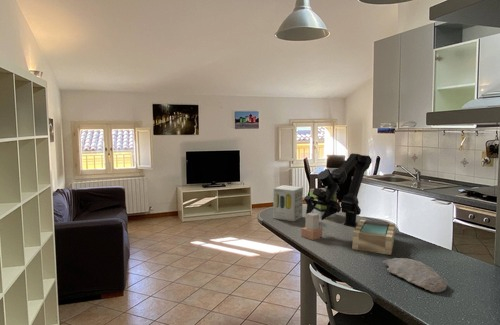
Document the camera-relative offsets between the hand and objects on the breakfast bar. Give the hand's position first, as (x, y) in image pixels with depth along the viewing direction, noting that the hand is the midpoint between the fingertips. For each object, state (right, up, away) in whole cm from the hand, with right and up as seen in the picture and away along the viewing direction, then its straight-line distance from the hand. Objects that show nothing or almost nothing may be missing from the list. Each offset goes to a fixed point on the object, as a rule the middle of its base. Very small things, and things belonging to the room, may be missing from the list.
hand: (313, 217), depth 169 cm
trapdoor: (+26, -5, -10) cm, 28 cm away
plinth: (-1, -9, 0) cm, 9 cm away
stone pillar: (-1, -5, 0) cm, 5 cm away
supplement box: (-9, -6, +36) cm, 37 cm away
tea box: (+12, -5, +43) cm, 45 cm away
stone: (+28, -15, -43) cm, 54 cm away
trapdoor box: (+26, -10, -9) cm, 29 cm away
